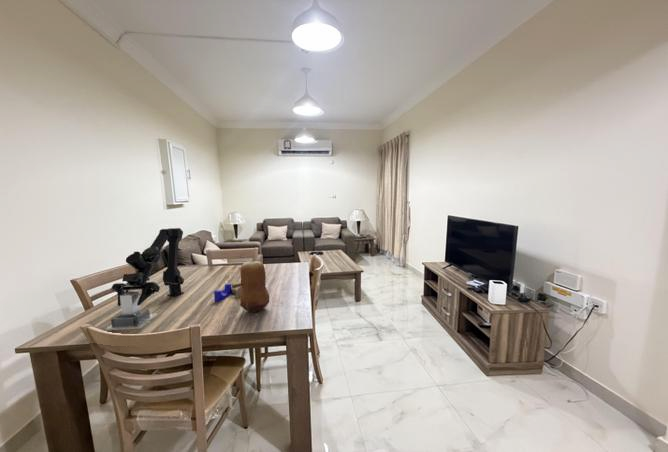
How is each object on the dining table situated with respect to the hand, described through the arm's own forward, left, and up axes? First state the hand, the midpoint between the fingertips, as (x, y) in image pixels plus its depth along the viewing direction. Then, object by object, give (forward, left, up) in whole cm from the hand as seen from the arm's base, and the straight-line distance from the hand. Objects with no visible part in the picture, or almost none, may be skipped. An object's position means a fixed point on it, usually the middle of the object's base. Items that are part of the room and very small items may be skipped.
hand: (128, 305), depth 118 cm
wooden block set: (+19, +54, -10) cm, 58 cm away
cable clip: (+12, +40, -9) cm, 43 cm away
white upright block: (-1, +1, -8) cm, 8 cm away
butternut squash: (+42, +34, -9) cm, 55 cm away
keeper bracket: (-1, +1, -9) cm, 9 cm away
